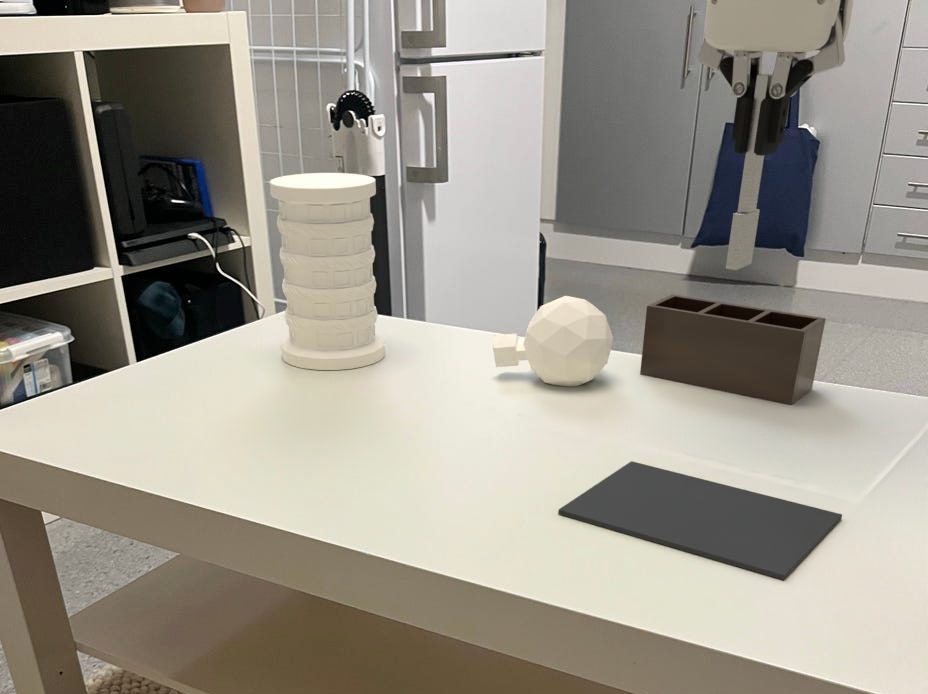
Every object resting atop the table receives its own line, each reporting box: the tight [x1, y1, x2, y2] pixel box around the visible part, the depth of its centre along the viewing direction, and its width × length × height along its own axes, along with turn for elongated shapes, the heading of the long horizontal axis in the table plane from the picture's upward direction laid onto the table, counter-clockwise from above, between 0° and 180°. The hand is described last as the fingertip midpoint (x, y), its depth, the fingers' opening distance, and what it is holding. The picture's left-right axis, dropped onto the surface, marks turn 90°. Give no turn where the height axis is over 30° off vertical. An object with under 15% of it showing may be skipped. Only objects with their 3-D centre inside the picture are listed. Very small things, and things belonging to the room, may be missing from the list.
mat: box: [557, 460, 843, 581], centre depth 78 cm, size 18×12×1 cm, turn 54°
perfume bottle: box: [492, 295, 614, 387], centre depth 103 cm, size 9×9×12 cm
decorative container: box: [269, 172, 386, 371], centre depth 109 cm, size 12×12×18 cm
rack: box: [639, 293, 826, 406], centre depth 102 cm, size 6×16×8 cm, turn 54°
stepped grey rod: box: [725, 73, 773, 271], centre depth 83 cm, size 1×3×14 cm, turn 142°
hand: (755, 151), depth 82 cm, fingers closed on stepped grey rod, 1 cm apart
